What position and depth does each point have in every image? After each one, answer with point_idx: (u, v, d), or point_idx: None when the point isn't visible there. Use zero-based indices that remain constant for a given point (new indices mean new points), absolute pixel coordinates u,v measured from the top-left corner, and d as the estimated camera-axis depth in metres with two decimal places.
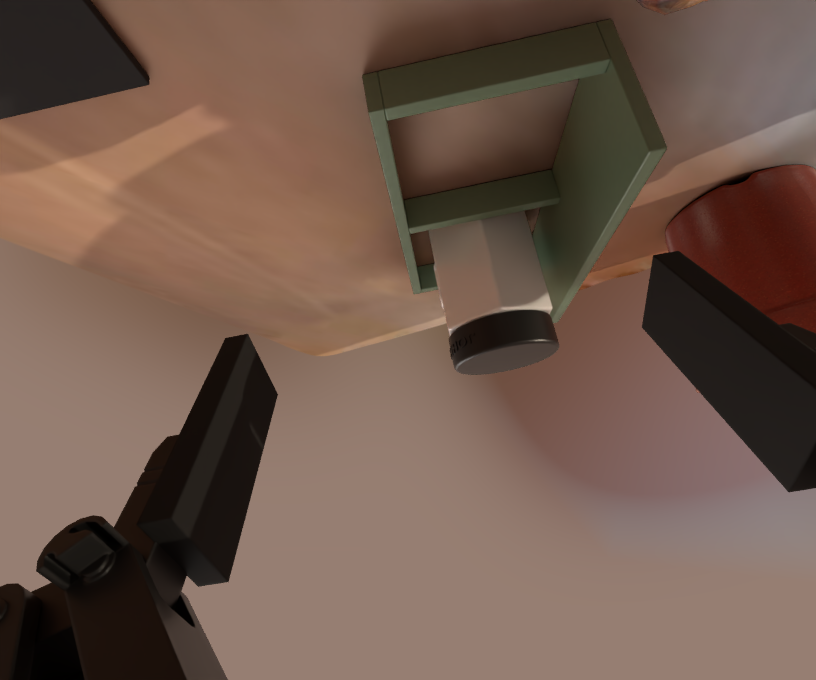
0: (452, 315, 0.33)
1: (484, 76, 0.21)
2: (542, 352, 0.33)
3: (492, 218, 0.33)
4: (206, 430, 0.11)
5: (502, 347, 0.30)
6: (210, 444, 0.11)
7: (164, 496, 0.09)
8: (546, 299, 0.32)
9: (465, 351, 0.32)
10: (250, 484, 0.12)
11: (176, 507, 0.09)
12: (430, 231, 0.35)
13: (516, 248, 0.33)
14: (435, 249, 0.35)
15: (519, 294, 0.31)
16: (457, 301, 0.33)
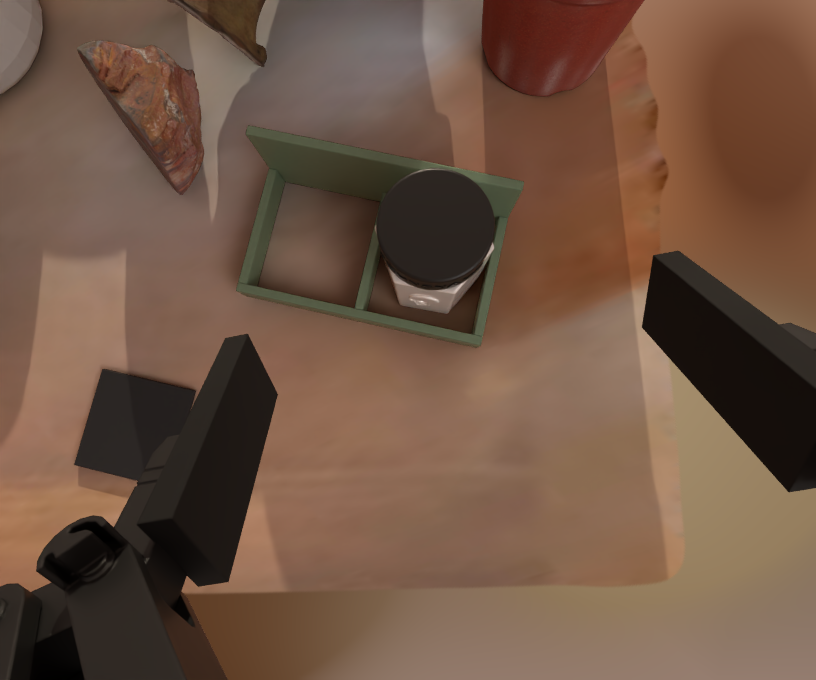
0: (391, 278, 0.33)
1: None
2: (437, 184, 0.30)
3: None
4: (207, 430, 0.11)
5: (378, 221, 0.30)
6: (210, 444, 0.11)
7: (164, 496, 0.09)
8: None
9: (389, 262, 0.30)
10: (250, 484, 0.12)
11: (176, 506, 0.09)
12: None
13: None
14: None
15: None
16: None
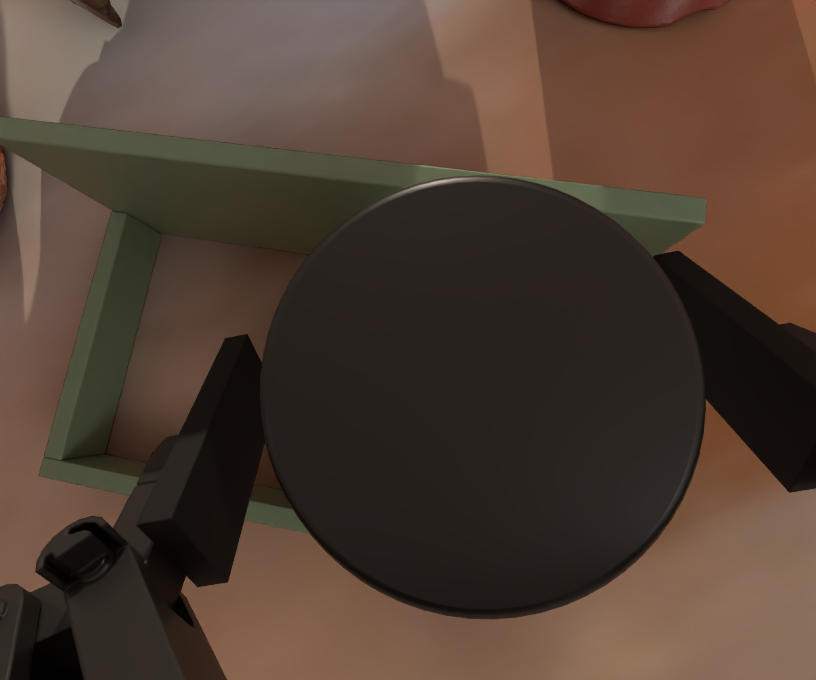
0: None
1: None
2: (472, 234, 0.08)
3: None
4: (206, 430, 0.11)
5: (264, 380, 0.08)
6: (209, 444, 0.11)
7: (163, 497, 0.09)
8: None
9: None
10: (249, 484, 0.12)
11: (175, 507, 0.09)
12: None
13: None
14: None
15: None
16: None
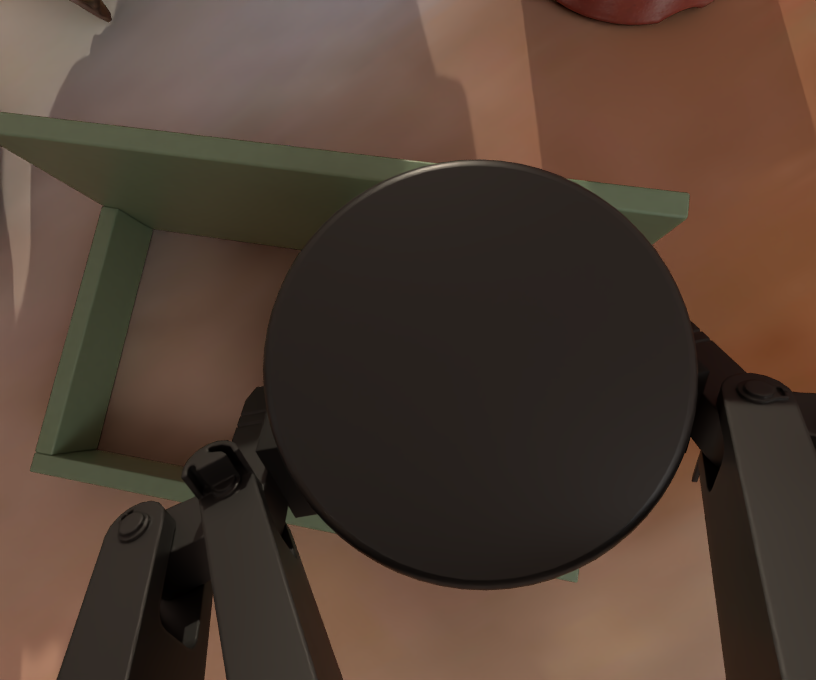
0: None
1: None
2: (475, 216, 0.08)
3: None
4: None
5: (268, 354, 0.08)
6: None
7: None
8: None
9: None
10: None
11: None
12: None
13: None
14: None
15: None
16: None
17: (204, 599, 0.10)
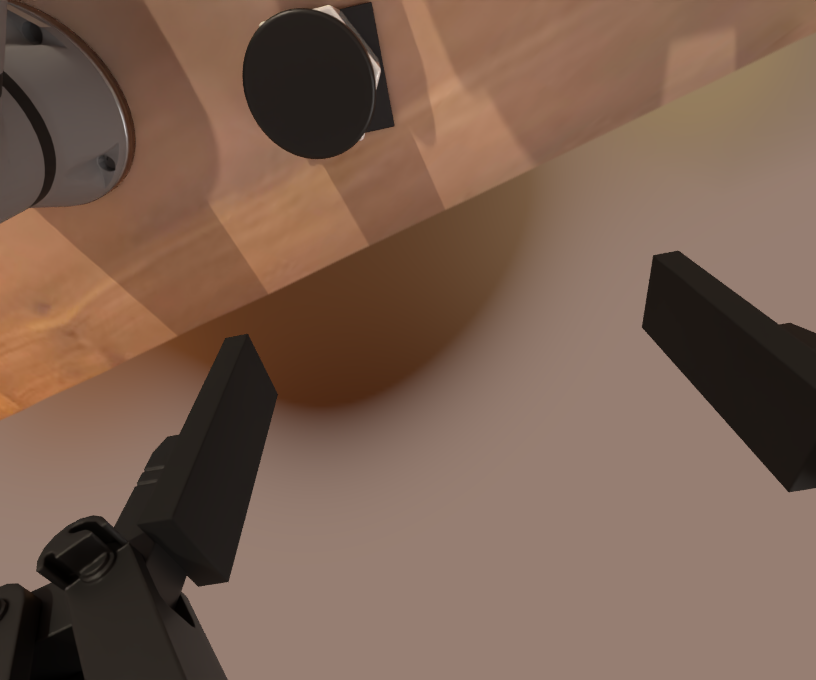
0: None
1: None
2: (289, 39, 0.25)
3: None
4: (207, 430, 0.11)
5: (253, 113, 0.27)
6: (210, 444, 0.11)
7: (164, 496, 0.09)
8: None
9: None
10: (249, 484, 0.12)
11: (176, 507, 0.09)
12: None
13: None
14: None
15: None
16: None
17: None
